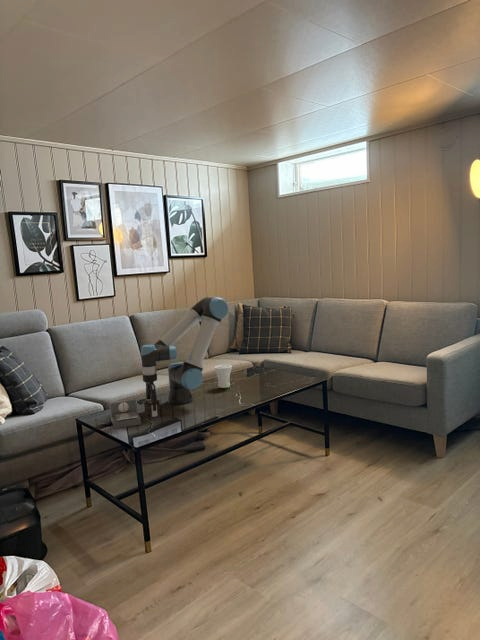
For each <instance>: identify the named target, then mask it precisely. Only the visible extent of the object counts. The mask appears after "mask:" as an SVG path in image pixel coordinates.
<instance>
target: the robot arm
mask: <svg viewBox="0 0 480 640" xmlns="http://www.w3.org/2000/svg"><path fill="white" fill-rule="evenodd" d="M228 313H229V306H228V303H227V301H226V300H225V299H224V298H221V297H217V296H215V297H210V296H209V297H207V296H206V297H203V298H201V299H200V300H199V301H197V302H196V304H194V305H193V306H192V307H191V308H190V309H189V312H188V313H187V314H186V315H185V316H184V317H183V318H182V319H180V320H179V321H178V322H177V323H175V324H174V326H173V327H172V328H171V329H170V330H168V331H167V332H166V333H165V334H164V335H163V336H162V337H160V339H159V340H158V341H156V342H155V343H151V344H144V345H142V346H141V347H140V356H141V357H140V358H141V369H140V370H141V371H142V381H143V382H144V383H145V397H146V401H147V400H151V403H152V404H150V405H151V408H152V416H151V417H152V418H153V417H158V414H157V400H158V398H157V391H156V385H155V383H154V382H156V381H158V374H157V372H158V370H157V362H164V361H165V362H166V361H172V360H175V359H177V356H178V351H177V347H176V346H174V345H175V344H176V343H177V342H178V341H179V340H180V339H182V337H183V336H184V335H185V334H187V333H188V331H190V330H191V329H192V328H193V327H195V325H197V323H198V322H201V323H200V325H199V329H198V331H197V333H196V336H195V339H194V341H193V345H192V347H191V349H190V352H189V354H188V358H187V359H186V360H184V361H178V362H172V363H170V364H168V366H167V367H168V368H167V372H168V382H169V383H168V385H169V390H168V395H167V404H170V405H185V404H189V403H192V402H193V401H194V395H193V393H192V390H194V389H196V388H197V389H198V387H200V385H201V384H202V383H203V379H204V376H203V370H204V367H203V363H204V360H205V357H206V355H207V353H208V349H209V346H210V343H211V341H212V338H213V336H214V333H215V330H216V328H217V326H218V325H220V324H221V322H222V319H224V318H225V317H227V315H228Z"/></svg>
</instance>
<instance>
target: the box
mask: <svg viewBox="0 0 480 640" xmlns="http://www.w3.org/2000/svg"><path fill="white" fill-rule="evenodd" d="M143 403H144V404H143V405H144V415H145V416H149V417H152V408H151V405H150V404H152V403H151V400H147V399H146V400H145V401H143ZM159 414H161V405H160V400H159V399H157V415H159Z"/></svg>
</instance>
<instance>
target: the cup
mask: <svg viewBox="0 0 480 640" xmlns="http://www.w3.org/2000/svg"><path fill="white" fill-rule="evenodd" d="M232 368H233V366H232V365H231V364H219V365H216V366H214V372H215V374H216V376H217V382H218V384H217V386H218V389H219V388H224V389H226V388H228V389H229V387H230V388H231V384H230V378H231V377H230V376H231V372H232V370H233V369H232Z"/></svg>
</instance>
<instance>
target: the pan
mask: <svg viewBox="0 0 480 640" xmlns="http://www.w3.org/2000/svg"><path fill="white" fill-rule="evenodd" d="M115 418H116V420H117V421H119V420H125V419H131V418H137V415H136V414H135V412H128V413H121V414H115Z"/></svg>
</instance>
